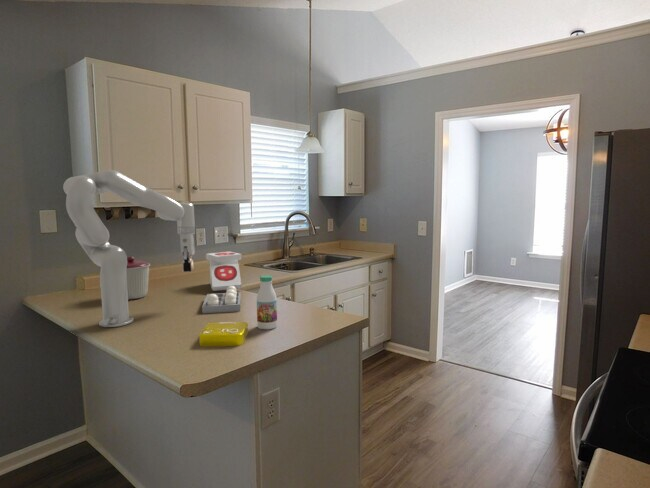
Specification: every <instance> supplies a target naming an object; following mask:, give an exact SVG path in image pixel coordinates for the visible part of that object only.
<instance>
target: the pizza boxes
mask: <svg viewBox="0 0 650 488" xmlns="http://www.w3.org/2000/svg"><path fill="white" fill-rule="evenodd" d="M242 258H243V255H242V253H238V252H233V251H221V252H209V253H206V254H205V260H207V261H209V284H210V287H211V290H212V291H225V290H226V291H227V288H228V287H229V286H234V287H235V288H236V290H239V289H241V290H242V279H241V272H240V264H239V261H241V260H242Z"/></svg>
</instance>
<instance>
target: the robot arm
mask: <svg viewBox="0 0 650 488" xmlns="http://www.w3.org/2000/svg"><path fill="white" fill-rule="evenodd" d="M62 188H63V191H64V193H65V194H66V197H65V198H66V200H65V208H66V212H67V214H68V216H69V219H71V221H72V222H73V225H74V226H75V227H76V228H75V233H74V234H75V237H76V238H75V239H76V240H77V242H78V243H79V245H80V246H81V248H82V249H83V251H84V252H85V254H86V255H87V257H88V258H89V259H90V261H92V263H93V264H95V265H96V266H97V267H100V272H99V286H100V296H101V298H100V299H101V311H102V319H101V320H99V322H98V325H99V327H100V328H101V327H102V328H117V327H122V326H126V325H129V324H131V323H133V322H134V317H133V316H130V312H129V299H128V293H127V279H126V268H127V257H128V256H127V253H126V252H125V250H124V249H123V248H122V247H120V246H118V245H114V244H111V243H110V242H109V240H110V231H109V230H108V228H107V227H106V225H105V224H104V223H103V221H102V220H101V218H100V217H99V215H98V214H97V212H96V210H95V208H94V206H93V197H94V195H100V194H104V193H107V192H108V193H109V192H110V193H112V194H114V195H116V196H118V197H120V198H122V199H123V200H126V201H127V202H129V203H131V204H132V205H134V206H135V205H136V206H137V207H140V208H146V209H149V210H152V211H155V212H156V215H157V216H158V218H160V219H161V220H164V221H176V226H177V229H176V230H177V234H178V235H179V237H180V242H179V243H180V254H181V256H182V257H183V259H182V262H183V266H182V271H183V270H184V272H183V273H189V272H188V271H191V262H190V258H191V259H192V260H193V256H194V255H195V253H196V252H195V251H196V250H195V248H196V247H195V239H194V235H196V225H195V224H196V223H195V221H196V220H195V206H194V204H193V203H191V202H180V203H179V202H177V201H176V200H174V199H172V198H170V197H169V196H167V195H166V194H165V195H164V194H163V193H160V192H158V191H157V190H156V191H155V190H154V189H151V188H149V187H147V186H145V185H143V184H141V183H139V182H137V181H135V180H134V179H132V178H130V177H129V176H127V175H125V174H123V173H122V172H120V171H118V170H115V169H108V170H106V169H105V170H101V171H97V172H93V173H92V172H91V173H87V174H81V175H77V176H76V175H75V176H70V177H69V178H67V179H66V180H64V183H63V185H62Z"/></svg>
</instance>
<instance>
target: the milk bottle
mask: <svg viewBox="0 0 650 488" xmlns="http://www.w3.org/2000/svg"><path fill="white" fill-rule="evenodd" d="M259 277H260V278H259V283H260V285H259V286H260V288H259V290H258V292H257V295H256V322H257V323H256V325H257V328H258V329H259V330H273V329H276V328H277V326H278V300H277V299H278V298H277V294H276V292H275V289H274V286H273V277H272V275H261V276H259Z"/></svg>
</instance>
